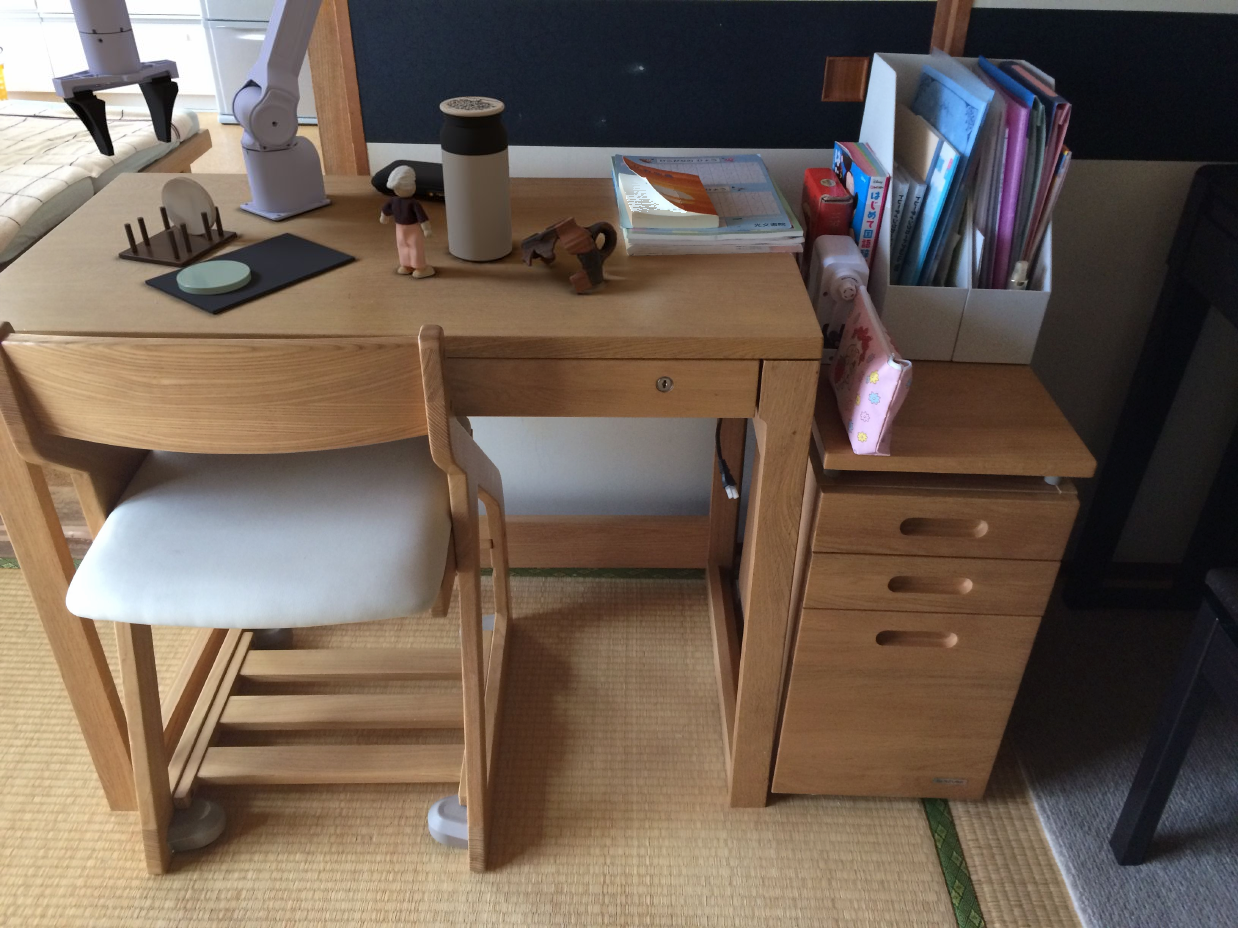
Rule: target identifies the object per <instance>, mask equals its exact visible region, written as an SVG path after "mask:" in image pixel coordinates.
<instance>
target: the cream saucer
mask: <svg viewBox="0 0 1238 928" xmlns="http://www.w3.org/2000/svg"><path fill="white" fill-rule="evenodd" d="M160 201H161V206H164V207H165V208H166V212H167V216H168V219H169V221H170V222H171V223H172V224H173V225H175V226H177V227H178V228H179V229H180V225H179V224H180V223H185V224H186V228H187V232H188V233H189V234H192V235H200V234H203V233H205V230H204V226H203V221H202V217H201V212H206V213H207V217H208V221H209V225H210V229H213V228H214V225H216V223H215V221H216V209H215V206H216V205H215V202H214V200H213V199H212V197H211V195H210V194H209V192H208V191H207V190H206V189H205V187H204V186H203V185H202V184H200V183H199V182H197V181H196V180H195V179H192V178H190V177H187V176H177V177H174V178H172V179H170V180H168V181H166V182H165V184H164V185H163V187H162V189H161V192H160ZM180 230H181V229H180Z"/></svg>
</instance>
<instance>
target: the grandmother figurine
mask: <svg viewBox="0 0 1238 928" xmlns="http://www.w3.org/2000/svg"><path fill="white" fill-rule="evenodd" d="M415 176H416V175H415V172H414V170H413V169H412V168H411V167H408V166H400V167H398V168H396V169H395V170H394V171H393V172H392V173H391V174H390V177H389V178H388V182H387V187H388V188H390V189H393V190H394V191H395V193H396V194H397V196H396V194H395V196H393V197H390V198H389V199H388V200H386V201H385V202H384V204H383V205H382V206H381V207H380V210H381V213H380V215H381V216H380V217H379V221H380V224H383V225H387V224H388V223H389V222H390V217H392V216H393V219H394V223H395V225H396V226H395V230H396V231H395V232H396V234H395V235H396V245H397V251H398V258H399V264H400V266H399V268H398V269H397V273H398V274H400V275H409V274H411V273H412V277H413V278H416V279H421V278H426V277H430V276H433V275H434V274H435V270H434V268H433V267H432V266H430V265H428V264H427V259H426V255H425V249H424V240H423V235H424V237H425V238H427V239H430V238H432V237H433V236H434V231H433V230H432V226H431V223H430V218H429V216H428V214H427V213H426V211H425V208H424V207H423V205H422V203H421V202H420V201H418V200H416V199H415V198H414V197H412V195H413V194H414V192H415V190H416V185H415V181H414V180H416V179H415Z"/></svg>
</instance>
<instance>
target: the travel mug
mask: <svg viewBox="0 0 1238 928" xmlns="http://www.w3.org/2000/svg"><path fill="white" fill-rule="evenodd" d="M439 109H440V110H441V112H442V114H443V115H442V116H443V119H444V122H443V124H442V127H441V129H440V132H439V139H440V151H441V153H440V154H441V163H442V165H443V178H444V190H445V200H444V202H445V213H446V214H445V215H446V226H447V237H448V238H447V239H448V249H449V253H451V255H453V256H455V257H457V258H460V259H462V260H465V261H469V262H489V261H496V260H498V259H501V258H503V257H505V256H507V255H508V254H510V253H511V252H512V251H513V234H512V233H513V232H512V209H511V207H512V205H511V185H510V183H511V182H510V159H509V135H508V133H509V132H508V131H507V129H506V127H505V124H504V123H503V121H502V117H503V114H502V113H503V111H504V109H505V104H504V102H502V101H501V100H498V99H496V98H492V97H486V96H460V97H453V98H450V99H446V100H444V101H442V102H441V103H440V104H439Z"/></svg>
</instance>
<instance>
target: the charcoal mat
mask: <svg viewBox="0 0 1238 928" xmlns="http://www.w3.org/2000/svg"><path fill="white" fill-rule="evenodd" d="M355 257H356V256H353V255H351V254H347V253H345V252H342V251H339V250H336V249H335V248H332V247H328V246H326V245H322V244H320V243H317V242H314V241H311V240H309V239H306V238H304V237H301V236H298V235H295V234H292V233H289V232H285V233H282V234H279V235H276V236H273V237H270V238H267V239H264V240H261V241H258V242H255V243H253V244H249V245H247V246H243V247H240V248H237V249H233V250H231V251H229V252H225V253H223V254H219V255H217V256H214V257H211V258H208V259H204V260H202V261H199V262H196V263H193V264H189V265H186V266H185V267H180V268H178V269H175V270H172V271H169V272H166V273H163V274H161V275H159V276H158V275H157V276H154V277H152V278H148V279H145V280H144V282H145V285H147V286H149V287H151V288H154V289H156V290H159V291H162V292H163V293H166V294H167V295H170V296H172V297H174V298H176V299H178V300H181V301H183V302H185V303H187V304H189V305H191V306H194V307H197V308H199V309H201V310H203V311H205V312H207V313H210V314H211V315H216V314H217V313H221V312H223V311H225V310H229V309H231V308H234V307H236V306H239V305H242V304H244V303H246V302H249V301H252V300H255V299H256V298H259V297H261V296H264V295H267V294H270V293H273V292H275V291H278V290H281V289H283V288H286V287H288V286H290V285H291V286H292V284H296V283H298V282H301V281H303V280H306V279H308V278H311V277H314V276H317V275H320V274H322V273H325V272H327V271H330V270H332V269H335V268H337V267H340V266H343V265H345V264H347V263H350V262H352V261H355V260H356V258H355ZM222 260H225V261H236V262H240V263H243V264H245V265H247V266H248V267H249V268H250V272H251V280H250V281H249V283H247V284H246V285H245V286H243V287H241V288H239V289H236V290H233V291H230V292H226V293H221V294H212V295H198V294H191V293H187V292H184V291H183V290H181V289H180V288H179V286H178V283H177V275H178V274H179V273H180V272H181V271H182V270H184V269H186V268H188V267H190V266H193V265H196V264H199V263H204V262H209V261H222Z"/></svg>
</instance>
